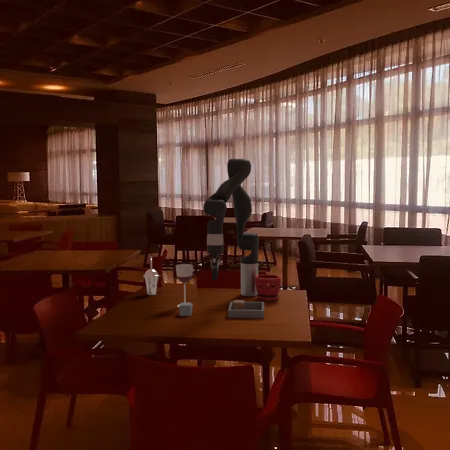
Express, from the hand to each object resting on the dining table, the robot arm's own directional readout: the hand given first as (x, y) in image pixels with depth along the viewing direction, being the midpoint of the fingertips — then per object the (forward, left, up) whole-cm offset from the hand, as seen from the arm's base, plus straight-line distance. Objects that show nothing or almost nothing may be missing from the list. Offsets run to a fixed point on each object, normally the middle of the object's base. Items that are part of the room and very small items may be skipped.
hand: (215, 278), depth 235 cm
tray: (-2, +14, -17) cm, 22 cm away
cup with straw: (-39, -39, -17) cm, 58 cm away
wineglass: (-15, -17, -17) cm, 28 cm away
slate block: (+1, -14, -17) cm, 22 cm away
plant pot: (-31, +24, -17) cm, 43 cm away
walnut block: (-2, +11, -16) cm, 19 cm away
